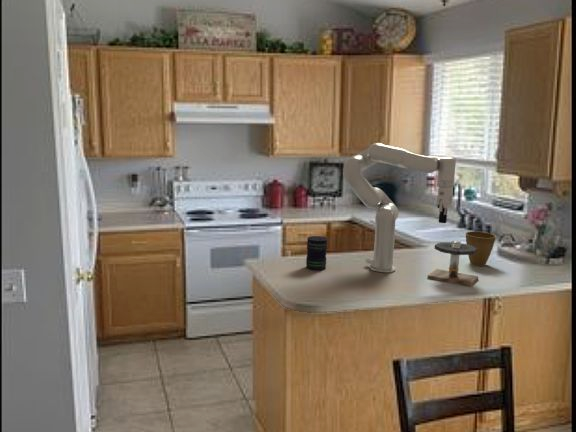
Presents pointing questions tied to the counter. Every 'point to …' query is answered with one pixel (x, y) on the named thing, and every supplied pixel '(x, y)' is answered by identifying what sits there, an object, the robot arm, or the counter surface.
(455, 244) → the steel pipe
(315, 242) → the storage jar
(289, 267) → the counter surface
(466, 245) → the grey petal ring
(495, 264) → the counter surface
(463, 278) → the base board
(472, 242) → the plant pot
